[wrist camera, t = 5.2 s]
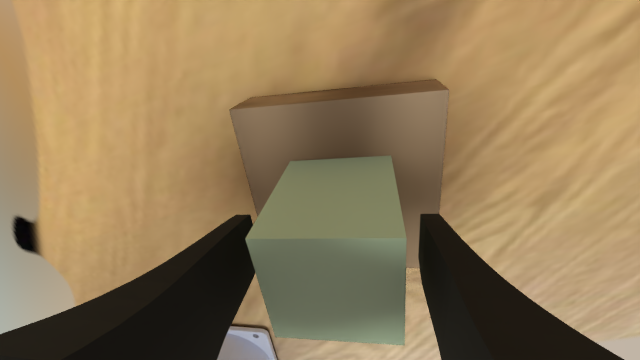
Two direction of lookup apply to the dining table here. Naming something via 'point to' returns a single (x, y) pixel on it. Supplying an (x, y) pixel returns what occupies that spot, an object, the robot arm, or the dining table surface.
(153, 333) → the robot arm
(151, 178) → the dining table surface
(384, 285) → the green block
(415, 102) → the walnut base
